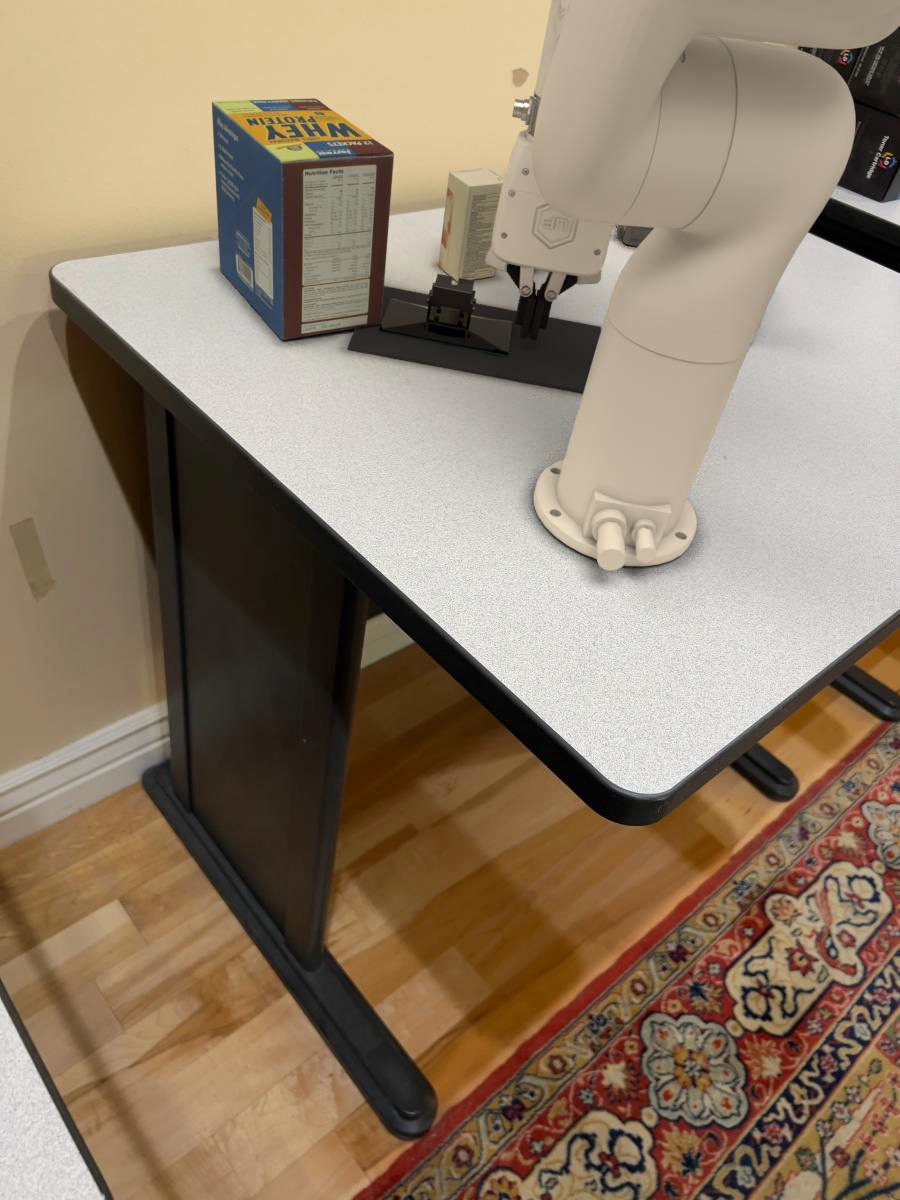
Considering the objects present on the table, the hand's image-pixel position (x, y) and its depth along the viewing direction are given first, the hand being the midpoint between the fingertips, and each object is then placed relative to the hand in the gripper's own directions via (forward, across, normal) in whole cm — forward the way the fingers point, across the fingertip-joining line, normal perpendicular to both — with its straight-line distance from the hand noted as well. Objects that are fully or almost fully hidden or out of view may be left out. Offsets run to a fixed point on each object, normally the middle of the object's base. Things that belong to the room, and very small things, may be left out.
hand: (528, 332), depth 85 cm
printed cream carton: (+2, -7, +16) cm, 17 cm away
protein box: (+2, -23, +2) cm, 23 cm away
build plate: (+2, -8, +1) cm, 8 cm away
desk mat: (+2, -4, 0) cm, 5 cm away
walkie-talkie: (+2, +14, +36) cm, 39 cm away
